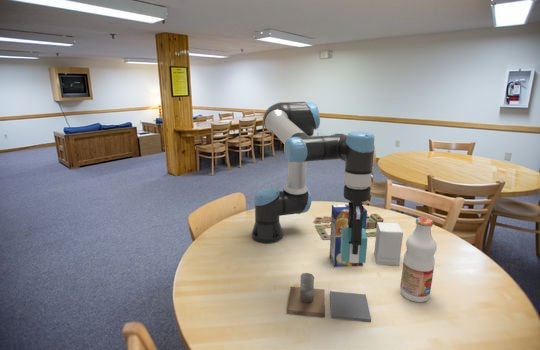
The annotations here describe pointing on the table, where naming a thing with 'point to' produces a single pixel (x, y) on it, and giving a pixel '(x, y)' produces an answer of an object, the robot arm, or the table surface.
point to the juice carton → (337, 222)
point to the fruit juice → (418, 262)
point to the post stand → (306, 298)
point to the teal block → (346, 246)
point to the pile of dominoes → (370, 224)
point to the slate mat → (349, 306)
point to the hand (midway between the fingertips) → (352, 255)
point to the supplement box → (388, 243)
